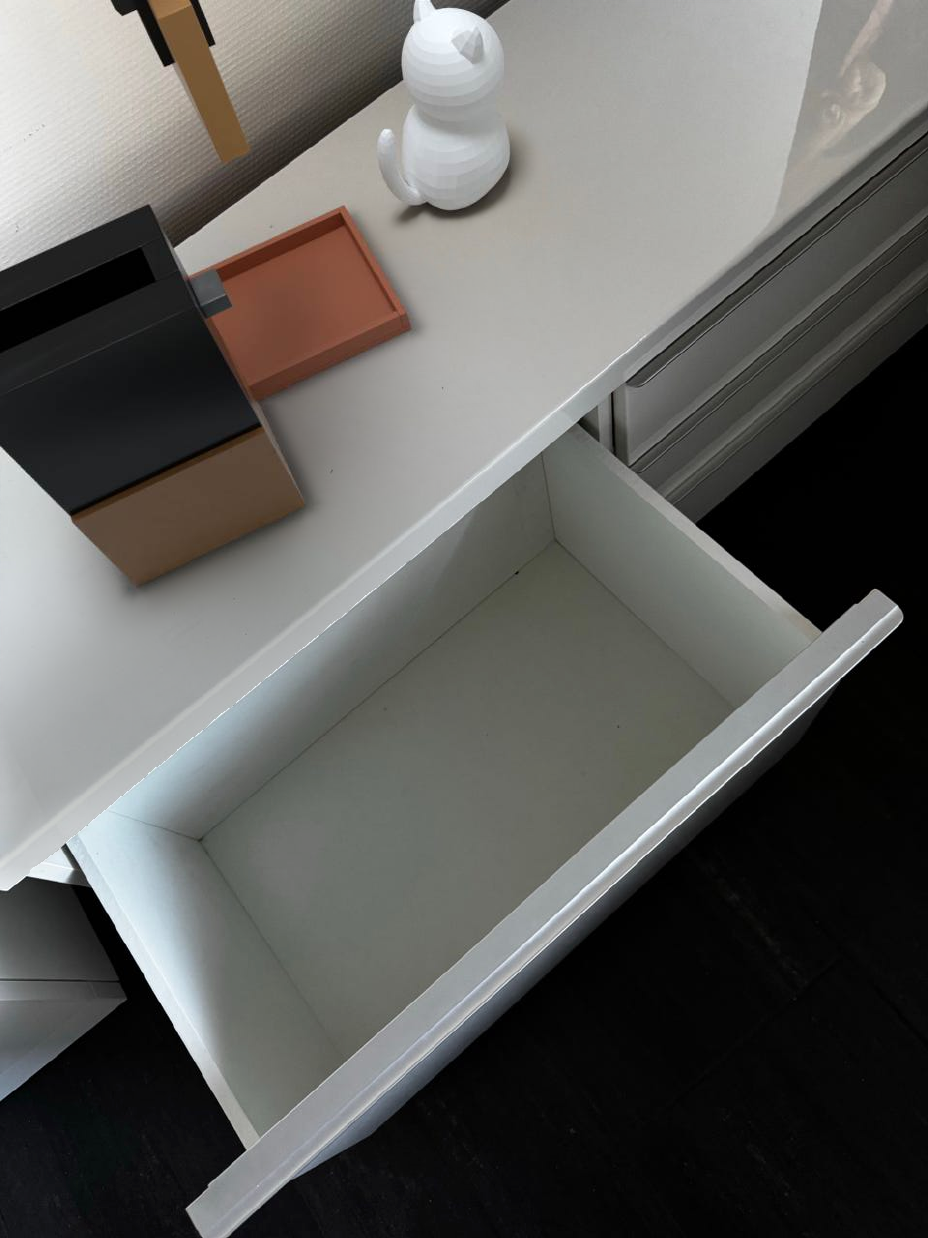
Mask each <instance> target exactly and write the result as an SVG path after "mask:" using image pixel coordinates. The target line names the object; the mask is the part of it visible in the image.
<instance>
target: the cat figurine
mask: <svg viewBox="0 0 928 1238" xmlns="http://www.w3.org/2000/svg"><path fill="white" fill-rule="evenodd" d="M412 18H413V19H412V20H413V25H411V27H410V29H409V31H408V32H407V35H406V36H405V38H404V42H403V46H402V52H401V72H402V79H403V82H404V85H405V88H406V90H407V93H408V96H409V97H410V99H411V100H412V102H413V104H412V106H411V107H410V108H409V111H408V113H407V115H406V117H405V120H404V123H403V129H402V141H401V144H402V145H401V147H402V149H401V166H402V172H403V176H404V178H405V180H406V181H405V180H404V178H403V176H402V175H401V173H400V169H399V166H398V161H397V160H398V159H397V158H398V157H397V145H396V138H395V135H394V133H393V131H392V130H391V129H390V128H384V129H383V130H382V131H381V132H380V134H379V137H378V138H377V139H378V140H377V144H376V145H377V146H376V155H377V156H376V157H377V163H378V168H379V171H380V175H381V177H382V179H383V181H384V183H385V185H386V188H387V189H389V191H390V192H391V193H392V195H393V197H395V198H396V199H397V200H398V201H400V202H402V203H403V204H406V205H408V206H420V205H423V204H426V203H429V204H430V205H432V206H433V207H435V208H438V209H441V210H446V211H455V210H460V209H464V208H467V207H469V206H471V205H473V204H475V203H477V202H478V201H479V200H480V199H482V198H483V197H484V196H485V195H487V193H489V192H490V191H491V190H492V189H493V188H494V186H495V185H497V183H498V181H500V180H501V178H502V176H503V175H504V174H505V172H506V170H507V168H508V166H509V163H510V157H511V145H510V139H509V133H508V130H507V126H506V123H505V120H504V117H503V115H502V114H501V111H500V109H499V108H498V106H497V105H496V104H495V101H496V100H497V98H498V97H499V96H500V93H501V91H502V89H503V82H504V77H505V56H504V55H505V54H504V50H503V46H502V43H501V41H500V38H499V36H498V34H497V33H496V32H495V30H494V27H492V26H491V24H490V23H489V22H488V21H487V20H486V19H485V18H483V17H481V16H480V15H478V14H476V13H474V12H471V11H468V10H466V9H462V8H456V7H444V8H439V9H436V8H435V6H434V5H433V3H432V2H431V0H414V4H413V13H412ZM406 182H407V183H406Z"/></svg>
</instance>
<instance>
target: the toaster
mask: <svg viewBox="0 0 928 1238" xmlns="http://www.w3.org/2000/svg"><path fill="white" fill-rule="evenodd" d="M189 276H190V275H189V274H188V272H187V270H186V269H185V267H184V265H183V263H182V261H181V260H180V258H179V255H178V254H177V252H176V250H175V249H174V247H173V245H172V243H171V241H170V240H169V237H168V236H167V234H166V232H165V230H164V228H163V226H162V225H161V223H160V221H159V219H158V217H157V215H156V213H155V211H154V210H153V208H152V207H151V204H149V203H147V204H145V205H143V206H140V207H138V208H136V209H134V210H132V211H129V212H128V213H125V214H123V215H121V216H119V217H116V218H114V219H112V220H110V221H107V222H105V223H103V224H101V225H99V226H96V227H94V228H92V229H90V230H88V231H86V232H83V233H81V234H78V235H77V236H74V237H72V238H70V239H68V240H66V241H64V242H61V243H59V244H57V245H55V246H52V247H50V248H48V249H46V250H44V251H41V252H39V253H37V254H35V255H33V256H30V257H28V258H27V259H24V260H22V261H20V262H18V263H15V264H13V265H11V266H9V267H6V268H4V269H2V270H0V448H1V449H2V450H3V451H4V452H5V453H7V455H8V456H9V457H10V458H11V459H12V460H13V461H14V462H15V463H16V464H17V465H18V466H19V467H20V468H21V469H22V470H23V471H24V472H25V473H26V474H27V475H28V476H29V477H30V478H31V479H32V480H33V481H34V482H35V483H36V484H37V485H38V486H39V487H40V488H41V489H42V490H43V491H44V492H45V493H46V494H47V495H48V496H49V497H50V498H51V499H52V500H53V501H54V502H55V503H56V504H57V505H58V506H59V507H60V508H61V509H62V510H63V511H64V512H65V513H66V514H67V515H68V516H69V517H70V520H71V523H72V524H73V525H74V526H75V527H76V528H77V529H78V530H79V531H80V532H81V533H82V534H83V536H85V537H86V538H87V539H88V540H89V541H90V542H91V543H92V544H93V545H94V546H95V547H96V548H98V550H99V551H100V552H101V553H102V554H103V555H104V556H105V557H106V558H107V559H108V560H109V561H110V562H111V563H112V564H113V565H114V566H115V567H116V568H117V569H118V570H119V571H120V572H121V573H122V574H123V575H124V576H125V577H126V578H127V579H128V580H129V581H130V582H131V583H132V584H134V586H135V587H139V586H141V585H143V584H146V583H148V582H149V581H152V580H153V579H156V578H157V577H160V576H162V575H164V574H166V573H168V572H170V571H172V570H175V569H176V568H179V567H181V566H183V565H185V564H187V563H189V562H191V561H194V560H196V559H197V558H199V557H201V556H204V555H206V554H208V553H210V552H212V551H214V550H217V549H219V548H220V547H223V546H225V545H227V544H228V543H231V542H233V541H235V540H238V539H239V538H241V537H244V536H245V535H248V534H250V533H252V532H254V531H257V530H258V529H261V528H262V527H265V526H266V525H268V524H271V523H273V522H275V521H277V520H279V519H282V518H283V517H285V516H288V515H290V514H291V513H294V512H296V511H298V510H301V509H302V508H304V507H306V506H307V504H306V502H305V499H304V497H303V495H302V493H301V490H300V489H299V487H298V484H297V483H296V480H295V478H294V476H293V474H292V472H291V469H290V468H289V467H290V466H289V465H288V463H287V461H286V459H285V457H284V454H283V452H282V450H281V448H280V445H279V444H278V442H277V439H276V438H275V435H274V432H273V431H272V429H271V427H270V424H269V422H268V420H267V418H266V416H265V414H264V412H263V410H262V408H261V406H260V404H259V401H257V400H256V398H255V397H254V395H253V393H252V391H251V389H250V387H249V386H248V384H247V382H246V380H245V378H244V376H243V375H242V373H241V371H240V369H239V367H238V365H237V364H236V362H235V360H234V358H233V356H232V354H231V352H230V351H229V349H228V347H227V345H226V343H225V341H224V340H223V338H222V336H221V334H220V332H219V330H218V329H217V328H216V326H215V324H214V322H213V320H212V318H211V317H212V316H214V315H216V314H218V313H220V312H223V311H225V310H227V309H229V308H231V307H233V305H232V303H231V300H230V298H229V296H228V294H227V292H226V290H225V288H224V286H223V284H222V282H221V280H220V278H219V276H218V274H217V272H216V270H215V268H213V269H211V270H208V271H206V272H204V273H202V274H200V275H197V276H195V277H193V278H191V279H190V278H189Z"/></svg>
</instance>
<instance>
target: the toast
mask: <svg viewBox="0 0 928 1238" xmlns="http://www.w3.org/2000/svg"><path fill="white" fill-rule="evenodd" d="M147 1H148V3H149V5H150V8H151V10H152V12H153V14H154V17H155V19H156V21H157V23H158V26H159V28H160V30H161V32H162V35H163V37H164V39H165V41H166V44H167V46H168V48H169V50H170V53H171V55H172V57H173V59H174V62H175V63H173V64H171V66H172V68H173V69H174V72H175V74H176V76H177V79H178V80H179V82H180V83H181V86H182V87H183V90H184V92H185V94H186V96H187V98H188V100H189V101H190V104H191V105H192V108H193V110H194V111H195V113H196V115H197V117H198V119H199V121H200V123H201V125H202V127H203V129H204V131H205V133H206V135H207V137H208V139H209V141H210V143H211V145H212V147H213V149H214V151H215V153H216V155H217V157H218V159H219V161H220V163H221V164H222V165H224V164H226V163H228V162H231V161H233V160H235V159H237V158H239V157H242V156H244V155H246V154H248V153H251V152H252V151H251V148H250V145H249V142H248V140H247V137H246V135H245V133H244V130H243V128H242V126H241V123H240V120H239V118H238V115H237V113H236V110H235V108H234V105H233V103H232V100H231V98H230V96H229V93H228V91H227V88H226V85H225V83H224V80H223V78H222V76H221V73H220V71H219V68H218V66H217V64H216V63H217V62H216V61H215V58H214V56H213V54H212V51H211V49H210V48H211V47H209V46H208V44H207V41H206V39H205V36H204V34H203V31H202V29H201V26H200V24H199V21H198V19H197V16H196V14H195V11H194V9H193V6H192V4H191V2H190V0H147Z"/></svg>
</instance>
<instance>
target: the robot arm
mask: <svg viewBox="0 0 928 1238" xmlns="http://www.w3.org/2000/svg"><path fill="white" fill-rule="evenodd" d="M110 2H111V5H112V6H113V8H114V10H115V11H116V12H117V13H118V14H119V15H120V16H121V17H125V16H126V15H128V14H131V13H134V12H135V11H136V12H137V14H138V16H139V18H140V21H141V23H142V25H143V28H144V29H145V30H144V31H146V34H147V36H148V39H149V40H150V43H151V45H152V46H153V48H154V51H155V52H156V54H157V56H158V58H159V60H160V62H161V64H162V66H163V68H167V67H169V66H172V64H173V63H175V62H174V59H173V57H172V55H171V53H170V50H169V48H168V46H167V44H166V41H165V39H164V37H163V35H162V32H161V30H160V28H159V26H158V23H157V21H156V19H155V17H154V14H153V12H152V10H151V8H150V5H149V3H148V1H147V0H110ZM190 2H191V4H192V6H193V9H194V11H195V14H196V16H197V19H198V21H199V24H200V26H201V29H202V31H203V34H204V36H205V39H206V41H207V44H208V46H209V48H211V47H214V46H216V44H217V43H216V40H215V37H214V36H213V33H212V30H211V28H210V25H209V23H208V20H207V18H206V15H205V13H204V11H203V7H202V5H201V3H200V0H190Z"/></svg>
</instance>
